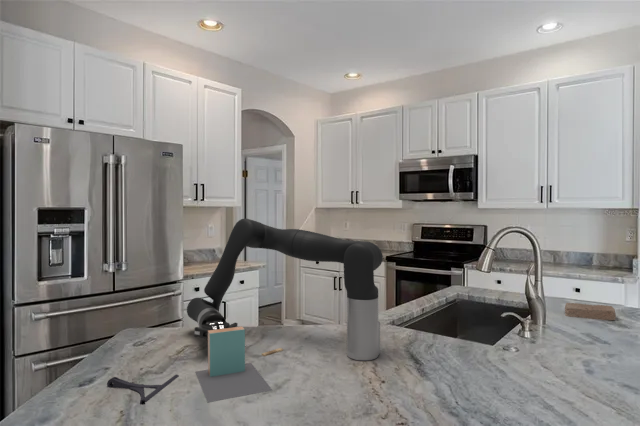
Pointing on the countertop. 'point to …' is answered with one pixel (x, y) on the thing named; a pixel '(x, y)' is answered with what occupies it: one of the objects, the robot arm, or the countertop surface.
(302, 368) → the countertop surface
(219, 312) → the robot arm
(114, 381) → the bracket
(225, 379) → the mat
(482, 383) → the countertop surface
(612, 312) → the brick
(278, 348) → the turner
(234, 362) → the tile
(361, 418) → the countertop surface
